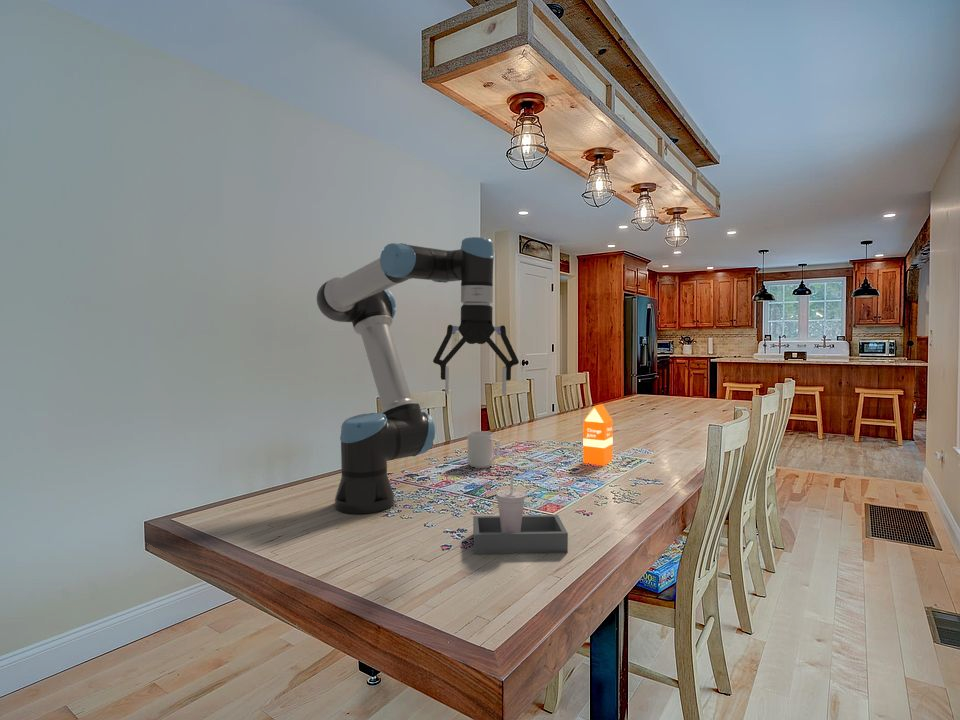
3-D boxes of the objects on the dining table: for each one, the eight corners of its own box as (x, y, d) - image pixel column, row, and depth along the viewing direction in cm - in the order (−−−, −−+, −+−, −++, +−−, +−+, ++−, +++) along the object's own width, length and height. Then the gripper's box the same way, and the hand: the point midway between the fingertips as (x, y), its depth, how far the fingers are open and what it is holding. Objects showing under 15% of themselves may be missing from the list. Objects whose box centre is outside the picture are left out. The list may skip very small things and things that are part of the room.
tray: (473, 533, 118) (473, 516, 118) (557, 532, 119) (557, 514, 118) (474, 554, 107) (474, 534, 107) (567, 552, 108) (567, 533, 107)
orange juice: (612, 460, 187) (613, 404, 186) (604, 465, 179) (604, 407, 178) (591, 457, 191) (591, 402, 190) (582, 462, 183) (582, 405, 182)
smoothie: (501, 545, 109) (501, 478, 108) (492, 534, 115) (492, 470, 114) (530, 542, 110) (530, 476, 110) (520, 531, 117) (520, 468, 116)
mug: (462, 466, 179) (462, 434, 178) (477, 461, 186) (477, 430, 185) (491, 472, 171) (491, 438, 171) (506, 466, 179) (506, 433, 178)
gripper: (422, 303, 121) (421, 395, 122) (531, 304, 121) (529, 396, 123) (425, 304, 128) (424, 391, 130) (527, 306, 129) (525, 392, 130)
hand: (475, 394), depth 126 cm, fingers open, 13 cm apart
